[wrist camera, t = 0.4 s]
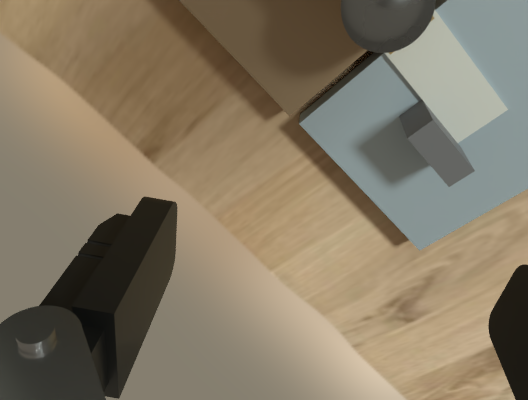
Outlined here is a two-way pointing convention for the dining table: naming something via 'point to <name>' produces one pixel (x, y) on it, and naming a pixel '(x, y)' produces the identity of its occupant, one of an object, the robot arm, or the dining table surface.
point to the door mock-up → (399, 101)
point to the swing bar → (386, 22)
